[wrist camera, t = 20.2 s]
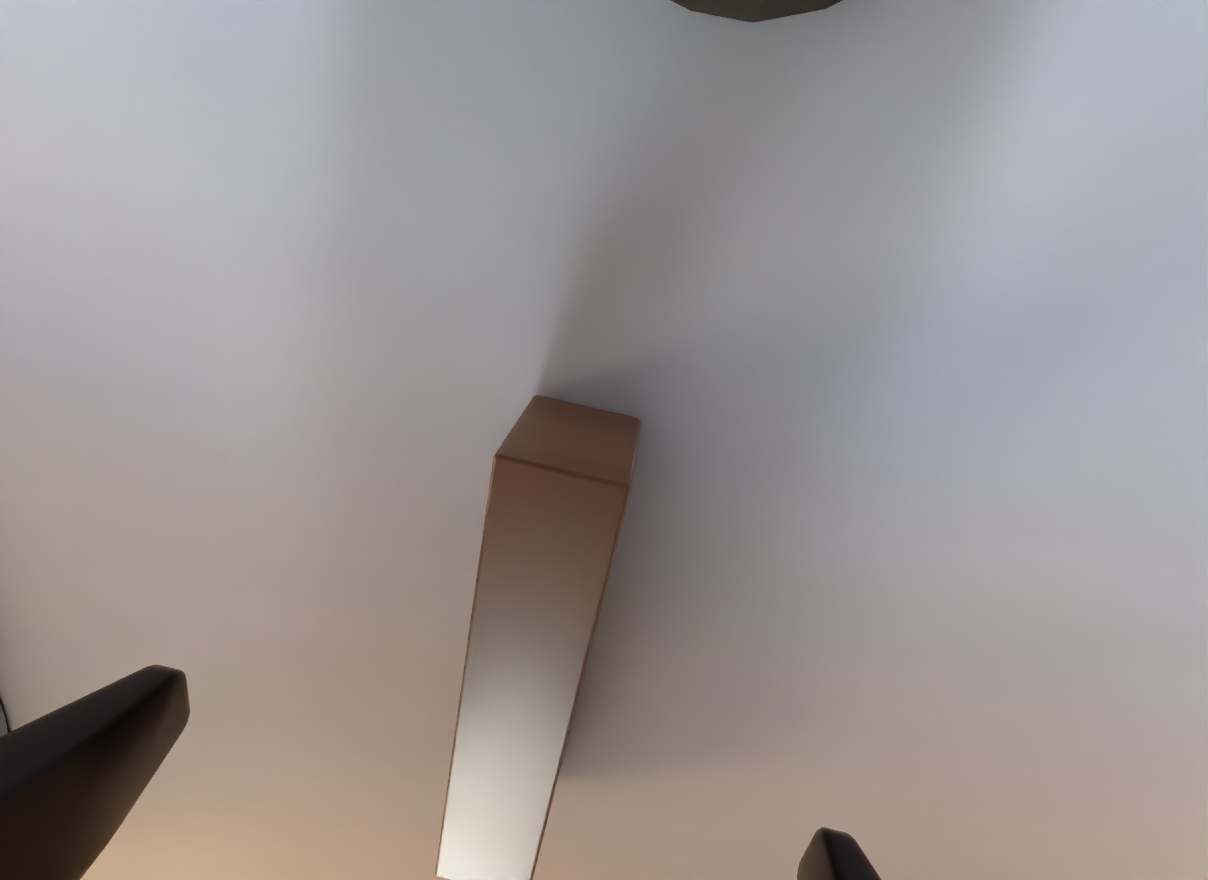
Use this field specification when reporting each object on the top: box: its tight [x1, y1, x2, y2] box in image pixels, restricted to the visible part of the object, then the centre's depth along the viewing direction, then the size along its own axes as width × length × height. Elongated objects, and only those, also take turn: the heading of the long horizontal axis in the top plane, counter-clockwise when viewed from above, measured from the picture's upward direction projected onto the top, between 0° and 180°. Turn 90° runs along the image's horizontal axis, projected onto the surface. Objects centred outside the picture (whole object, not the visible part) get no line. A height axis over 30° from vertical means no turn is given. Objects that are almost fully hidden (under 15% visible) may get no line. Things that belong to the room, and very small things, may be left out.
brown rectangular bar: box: [436, 395, 641, 880], centre depth 11 cm, size 9×2×2 cm, turn 169°
